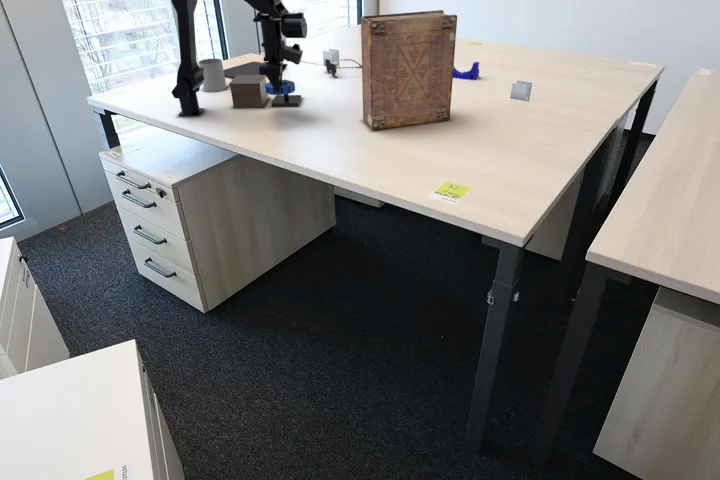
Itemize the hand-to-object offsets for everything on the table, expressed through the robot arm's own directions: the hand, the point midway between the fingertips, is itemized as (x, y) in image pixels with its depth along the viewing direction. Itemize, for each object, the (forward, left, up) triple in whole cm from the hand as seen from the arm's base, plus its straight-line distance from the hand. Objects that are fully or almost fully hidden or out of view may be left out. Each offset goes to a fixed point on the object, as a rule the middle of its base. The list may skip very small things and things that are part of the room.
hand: (278, 90), depth 150 cm
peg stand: (+14, +1, -8) cm, 17 cm away
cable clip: (+43, -64, -9) cm, 78 cm away
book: (-5, -40, -8) cm, 41 cm away
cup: (+32, +31, -8) cm, 46 cm away
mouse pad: (+56, +23, -8) cm, 62 cm away
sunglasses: (+52, -19, -9) cm, 56 cm away
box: (+14, +13, -8) cm, 21 cm away
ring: (+3, 0, -1) cm, 4 cm away
